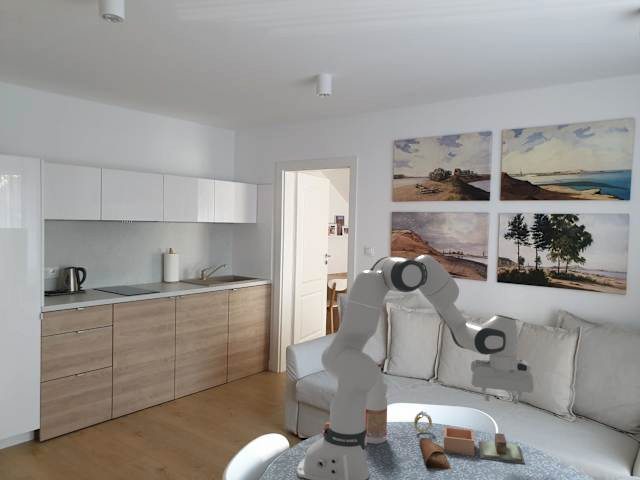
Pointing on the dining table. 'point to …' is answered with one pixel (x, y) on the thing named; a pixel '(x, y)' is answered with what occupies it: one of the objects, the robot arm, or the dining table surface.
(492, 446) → the lid
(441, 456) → the sunglasses case
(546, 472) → the dining table surface
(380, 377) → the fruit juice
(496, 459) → the mat
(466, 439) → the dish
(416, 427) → the ring
